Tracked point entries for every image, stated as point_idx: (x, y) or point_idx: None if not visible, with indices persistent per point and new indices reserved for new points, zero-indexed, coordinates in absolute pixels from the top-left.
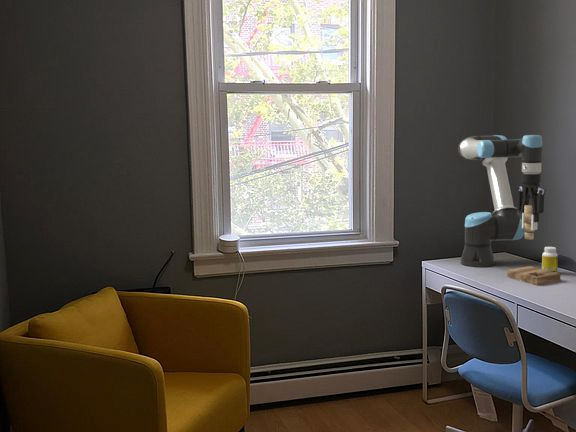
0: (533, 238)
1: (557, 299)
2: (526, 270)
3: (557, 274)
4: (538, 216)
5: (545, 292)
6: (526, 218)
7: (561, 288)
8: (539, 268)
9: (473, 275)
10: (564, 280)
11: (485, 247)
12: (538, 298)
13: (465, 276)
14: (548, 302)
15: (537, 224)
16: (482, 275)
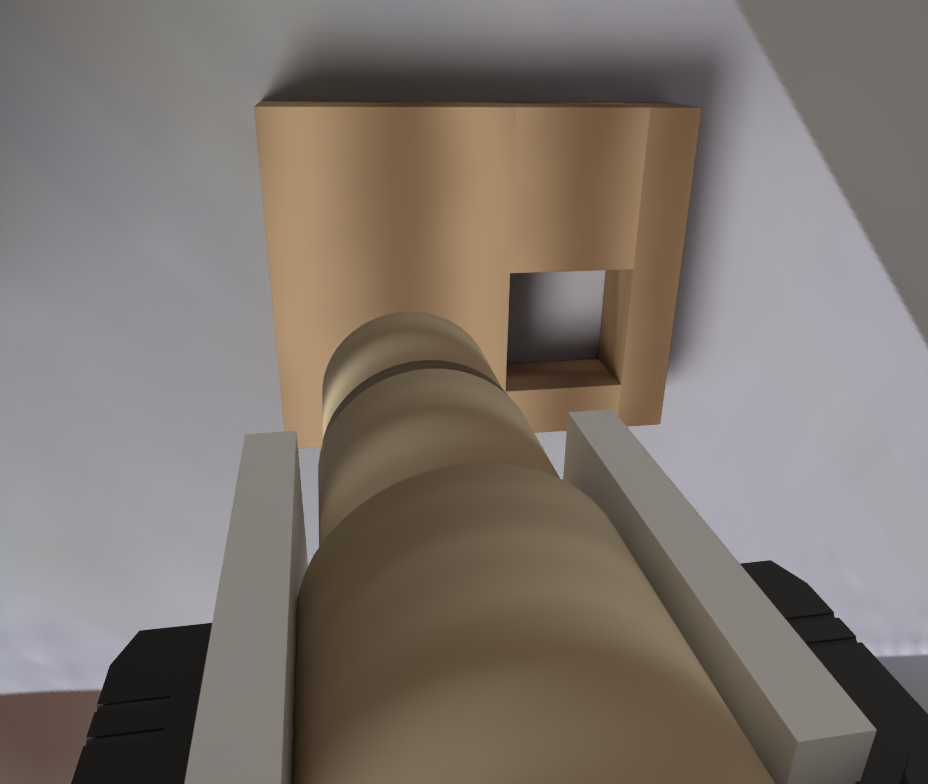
0: (488, 363)
1: (918, 513)
2: (404, 304)
3: (694, 155)
4: (910, 717)
5: (785, 470)
6: None
7: (806, 295)
8: (410, 109)
9: (108, 618)
10: (680, 44)
11: None
12: (828, 590)
13: None
14: (908, 593)
15: (667, 476)
16: (142, 559)
